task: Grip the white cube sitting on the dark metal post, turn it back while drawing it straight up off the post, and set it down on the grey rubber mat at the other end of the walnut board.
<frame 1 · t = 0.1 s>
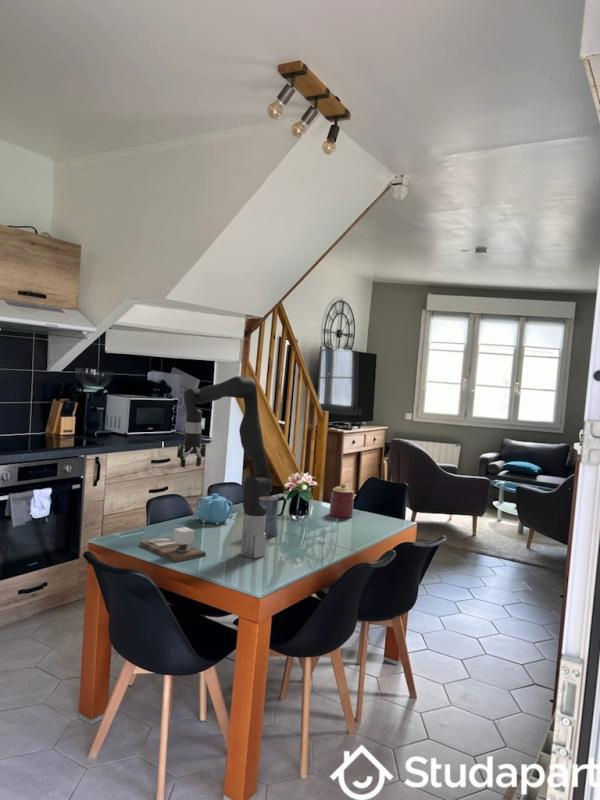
hand: (190, 466, 280), 29 cm above the table, tool pointing down, fingers open, 8 cm apart
post board: (172, 550, 248), on the table
decorative pot: (213, 521, 300), on the table
canister: (340, 515, 333), on the table
white cube: (183, 541, 243), point 5 cm above the table, touching post board
moka pot: (268, 535, 283), on the table
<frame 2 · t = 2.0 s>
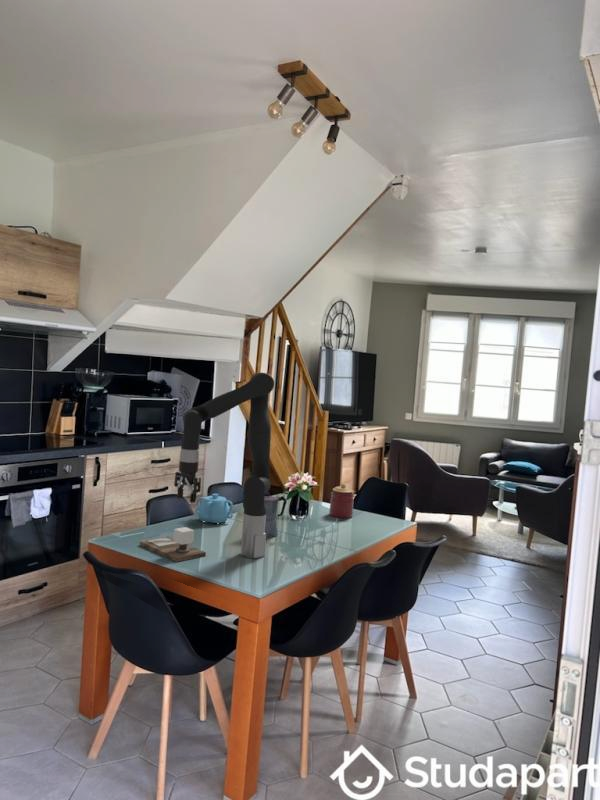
hand: (186, 500, 243), 22 cm above the table, tool pointing down, fingers open, 8 cm apart
nothing on the table moved.
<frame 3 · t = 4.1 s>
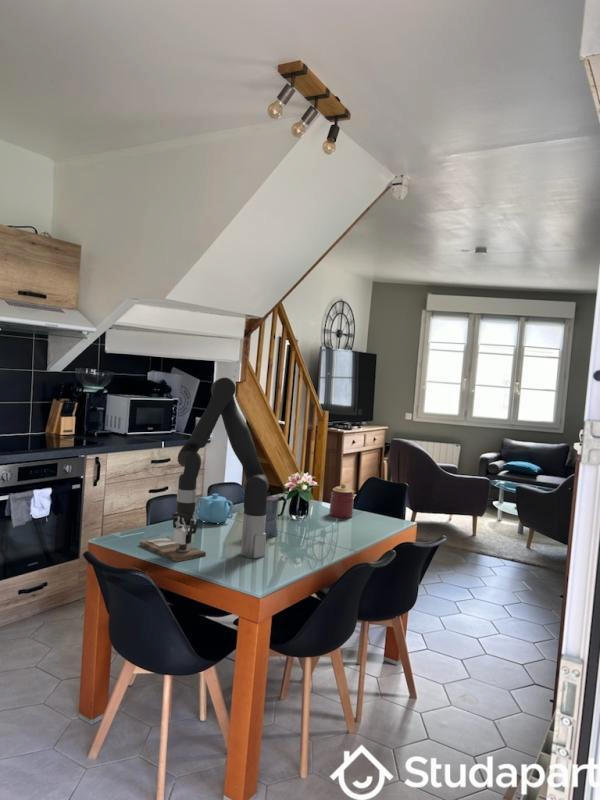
hand: (183, 541, 243), 6 cm above the table, tool pointing down, fingers closed on white cube, 5 cm apart
white cube: (183, 541, 243), point 5 cm above the table, touching gripper, post board
everything else where it was.
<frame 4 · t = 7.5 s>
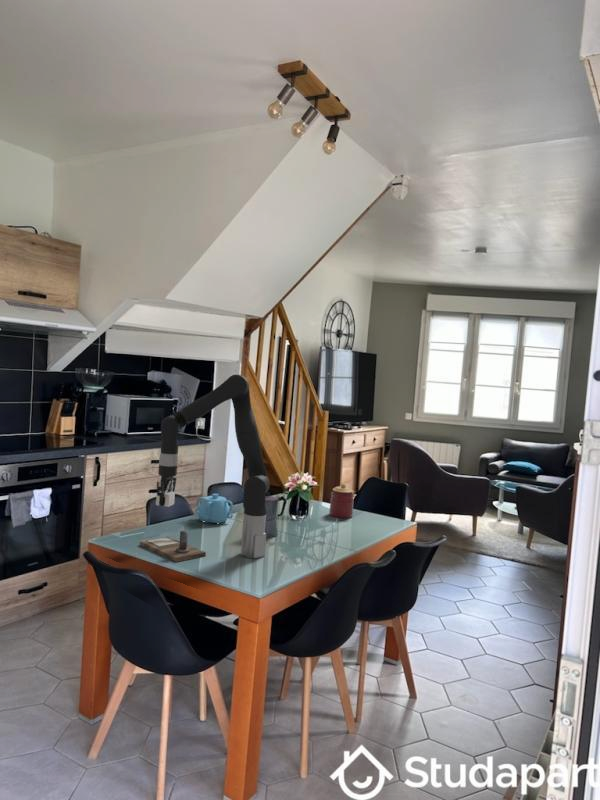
hand: (165, 504, 252), 18 cm above the table, tool pointing down, fingers closed on white cube, 5 cm apart
white cube: (165, 504, 252), point 18 cm above the table, touching gripper
everything else where it was.
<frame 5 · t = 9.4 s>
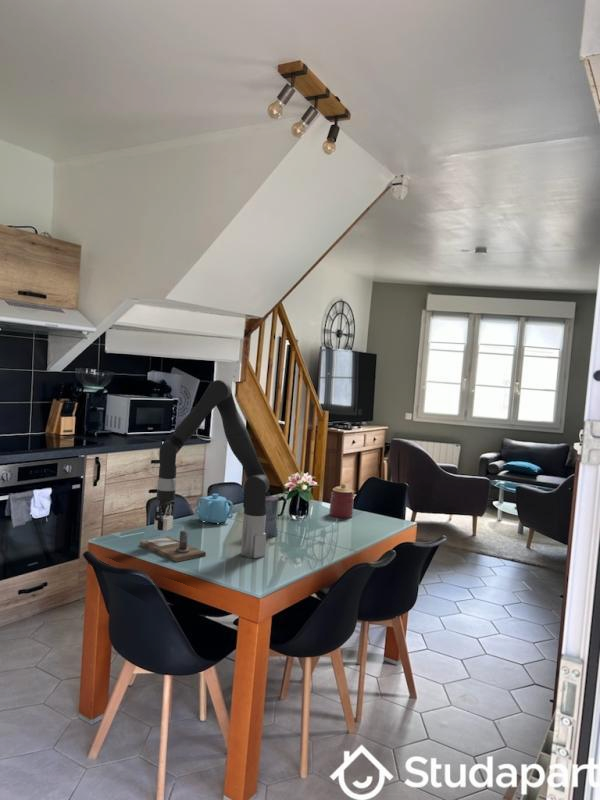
hand: (163, 528, 253), 8 cm above the table, tool pointing down, fingers closed on white cube, 5 cm apart
white cube: (163, 528, 253), point 7 cm above the table, touching gripper
everything else where it was.
when the fingers open (4 cm above the table, at t = 10.8 s): white cube drops 1 cm, resting on post board.
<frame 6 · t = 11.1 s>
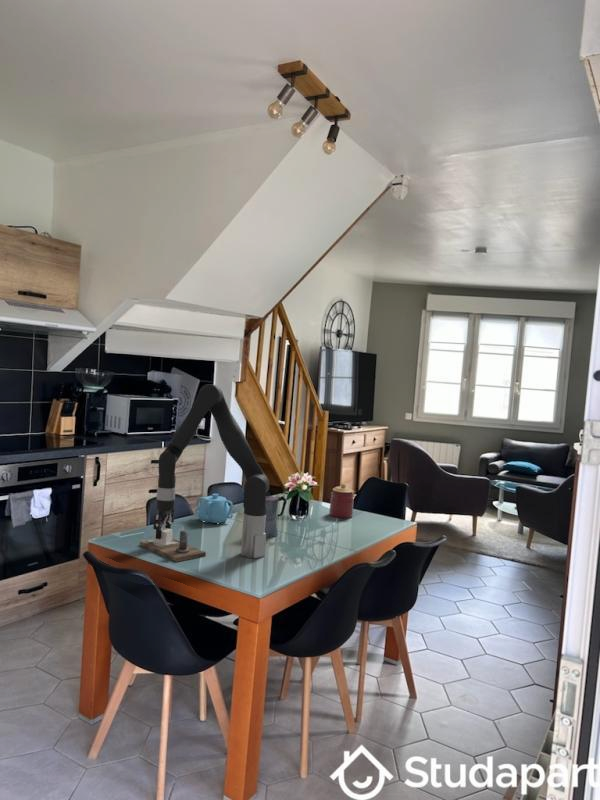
hand: (163, 536, 253), 4 cm above the table, tool pointing down, fingers open, 8 cm apart
white cube: (162, 541, 253), point 2 cm above the table, touching post board
everything else where it was.
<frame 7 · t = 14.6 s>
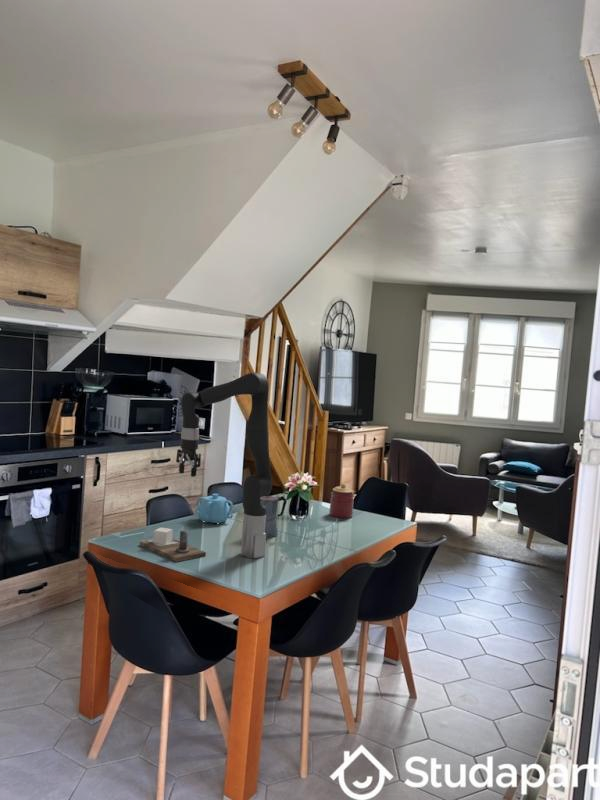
hand: (187, 474, 265), 28 cm above the table, tool pointing down, fingers open, 8 cm apart
nothing on the table moved.
at the end: white cube inside the target area (0.0 cm from its centre), point 1.8 cm above the table; white cube tilted 0°; the gripper is holding nothing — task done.
